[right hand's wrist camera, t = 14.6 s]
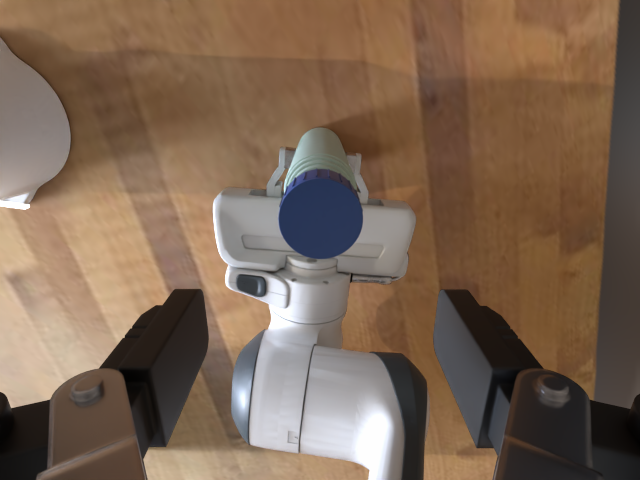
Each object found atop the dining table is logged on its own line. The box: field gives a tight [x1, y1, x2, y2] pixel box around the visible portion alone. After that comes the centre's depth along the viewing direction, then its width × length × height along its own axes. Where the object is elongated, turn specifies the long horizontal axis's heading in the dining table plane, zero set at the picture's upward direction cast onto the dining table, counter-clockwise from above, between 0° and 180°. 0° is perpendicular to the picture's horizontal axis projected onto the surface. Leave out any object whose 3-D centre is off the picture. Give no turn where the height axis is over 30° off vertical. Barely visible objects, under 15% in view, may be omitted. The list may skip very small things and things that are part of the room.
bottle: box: [284, 127, 357, 193], centre depth 32 cm, size 5×5×25 cm
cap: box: [278, 168, 363, 259], centre depth 21 cm, size 5×5×3 cm
